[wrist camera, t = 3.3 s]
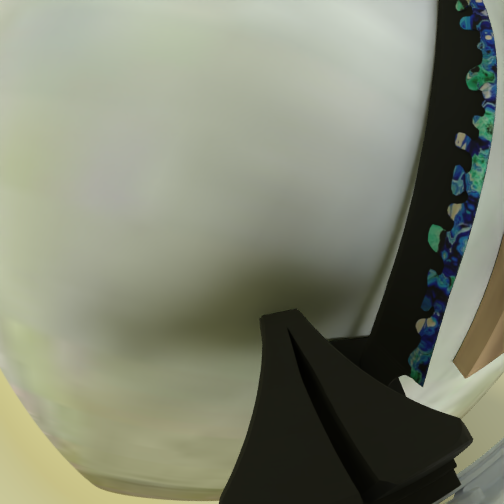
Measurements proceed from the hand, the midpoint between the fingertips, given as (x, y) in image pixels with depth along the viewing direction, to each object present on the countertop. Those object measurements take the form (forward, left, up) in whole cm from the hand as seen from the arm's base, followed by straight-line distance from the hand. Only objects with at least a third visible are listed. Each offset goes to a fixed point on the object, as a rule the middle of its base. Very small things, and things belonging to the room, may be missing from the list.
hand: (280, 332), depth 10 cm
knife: (-5, 0, -1) cm, 5 cm away
